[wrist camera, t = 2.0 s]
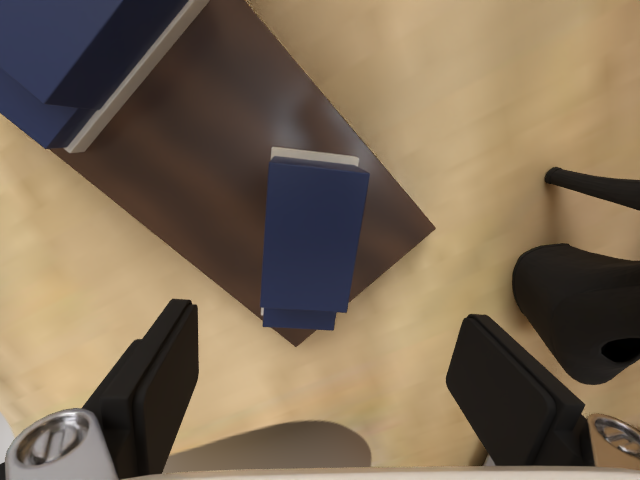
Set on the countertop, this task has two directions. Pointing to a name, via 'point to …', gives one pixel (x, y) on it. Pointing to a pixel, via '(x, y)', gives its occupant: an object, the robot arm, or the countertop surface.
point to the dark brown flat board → (234, 154)
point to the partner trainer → (81, 61)
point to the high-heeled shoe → (584, 292)
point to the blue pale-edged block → (310, 237)
